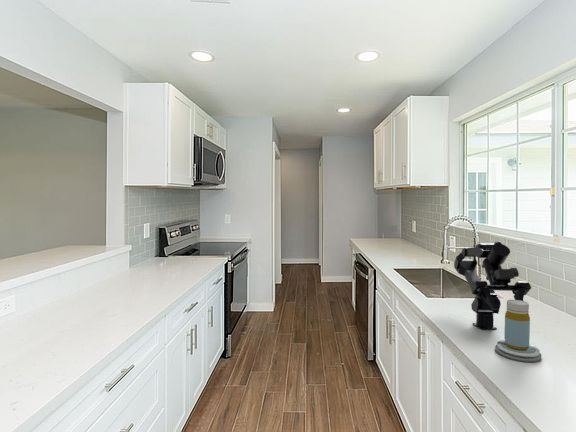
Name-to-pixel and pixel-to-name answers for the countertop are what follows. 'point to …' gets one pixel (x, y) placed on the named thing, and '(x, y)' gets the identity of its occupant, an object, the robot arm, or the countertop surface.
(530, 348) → the platter
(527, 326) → the bottle
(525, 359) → the turntable base
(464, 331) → the countertop surface
